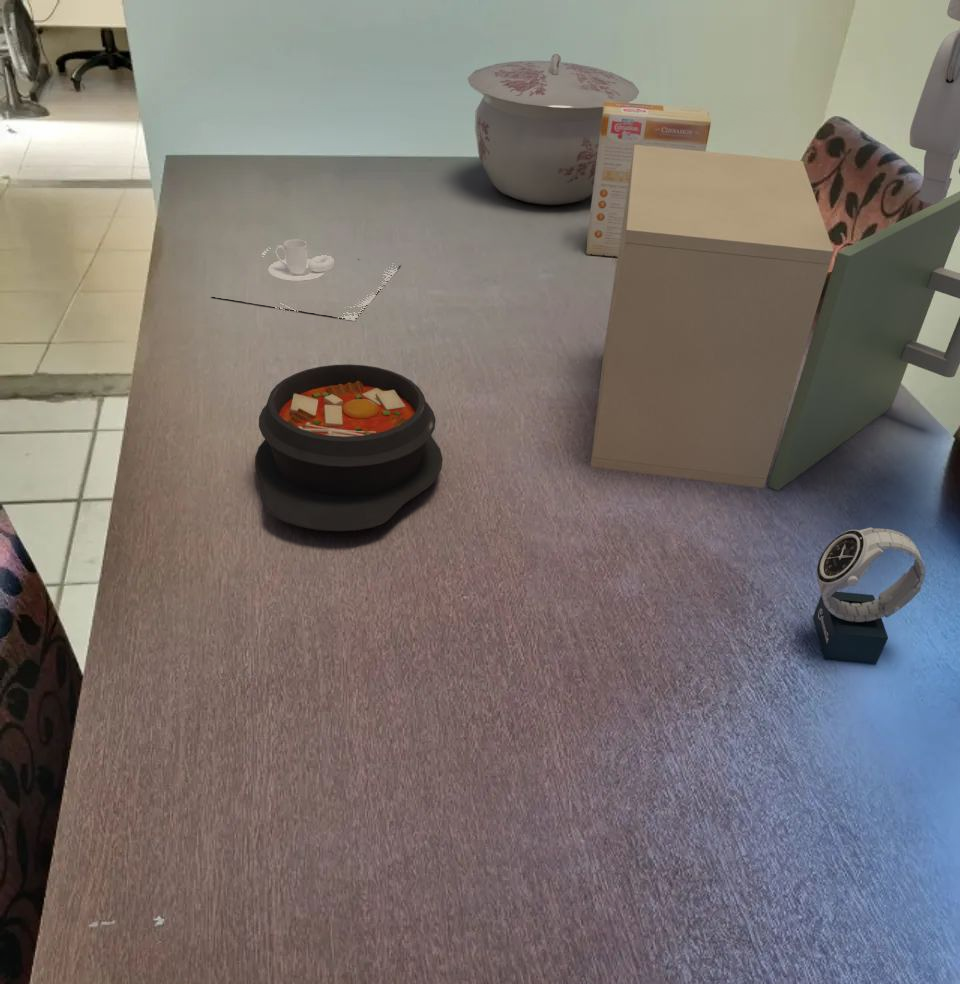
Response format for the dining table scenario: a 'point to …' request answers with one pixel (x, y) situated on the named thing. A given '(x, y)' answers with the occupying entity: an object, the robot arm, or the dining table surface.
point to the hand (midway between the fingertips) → (950, 187)
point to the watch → (857, 617)
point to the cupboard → (708, 314)
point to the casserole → (345, 447)
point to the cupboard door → (871, 334)
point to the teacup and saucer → (318, 266)
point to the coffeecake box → (615, 157)
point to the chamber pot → (543, 126)
